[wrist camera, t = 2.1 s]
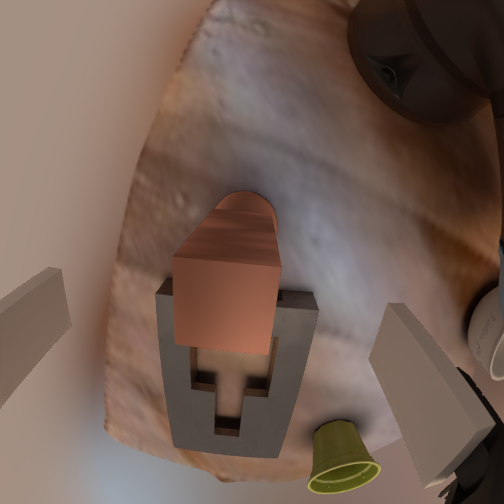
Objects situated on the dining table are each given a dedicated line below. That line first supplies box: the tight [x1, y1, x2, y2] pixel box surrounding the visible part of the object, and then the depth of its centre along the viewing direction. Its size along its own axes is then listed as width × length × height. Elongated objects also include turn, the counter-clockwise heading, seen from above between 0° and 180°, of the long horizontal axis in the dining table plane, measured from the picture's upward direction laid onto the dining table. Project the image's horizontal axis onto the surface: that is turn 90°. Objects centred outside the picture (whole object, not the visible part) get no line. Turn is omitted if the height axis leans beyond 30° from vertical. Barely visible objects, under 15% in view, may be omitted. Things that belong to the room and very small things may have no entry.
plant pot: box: [307, 420, 381, 494], centre depth 30 cm, size 9×9×9 cm
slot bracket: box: [155, 278, 319, 458], centre depth 30 cm, size 14×24×3 cm, turn 175°
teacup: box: [468, 287, 504, 380], centre depth 25 cm, size 14×11×8 cm
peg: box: [173, 191, 281, 355], centre depth 18 cm, size 6×6×15 cm
